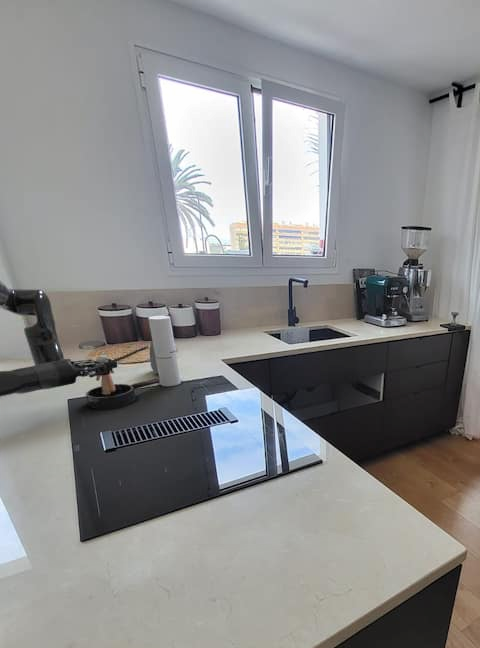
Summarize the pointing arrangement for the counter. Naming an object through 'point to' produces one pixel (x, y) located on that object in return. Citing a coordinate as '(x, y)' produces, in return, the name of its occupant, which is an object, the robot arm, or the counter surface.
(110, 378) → the grandmother figurine
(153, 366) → the decorative rock
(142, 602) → the counter surface
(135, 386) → the pan handle
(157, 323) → the cylindrical container
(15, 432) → the counter surface
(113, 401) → the pan
